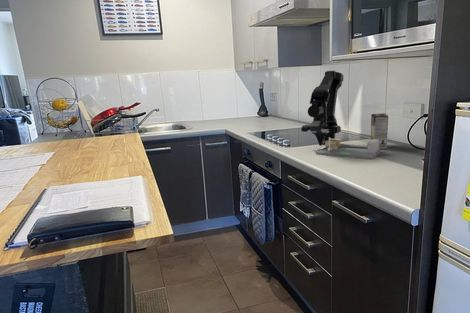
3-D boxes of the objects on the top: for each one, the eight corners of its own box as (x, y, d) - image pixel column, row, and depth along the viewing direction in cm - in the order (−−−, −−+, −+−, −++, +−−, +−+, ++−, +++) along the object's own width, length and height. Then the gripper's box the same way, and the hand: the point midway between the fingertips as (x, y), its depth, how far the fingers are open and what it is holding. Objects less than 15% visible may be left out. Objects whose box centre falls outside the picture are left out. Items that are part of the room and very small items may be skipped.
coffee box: (370, 145, 171) (370, 113, 167) (383, 144, 169) (384, 113, 166) (373, 148, 162) (374, 116, 158) (387, 148, 161) (389, 115, 157)
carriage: (330, 146, 168) (330, 138, 167) (340, 147, 165) (340, 139, 164) (321, 151, 159) (321, 143, 158) (331, 152, 156) (331, 143, 155)
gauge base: (328, 147, 171) (328, 136, 169) (381, 151, 155) (381, 139, 154) (315, 154, 159) (315, 141, 158) (372, 159, 144) (372, 145, 142)
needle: (329, 149, 158) (329, 136, 156) (331, 149, 157) (331, 136, 156) (327, 150, 156) (327, 137, 155) (330, 150, 156) (330, 137, 154)
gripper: (295, 116, 163) (296, 147, 167) (332, 117, 152) (332, 150, 156) (305, 113, 172) (306, 143, 176) (341, 114, 161) (341, 145, 164)
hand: (320, 145), depth 168 cm, fingers closed
